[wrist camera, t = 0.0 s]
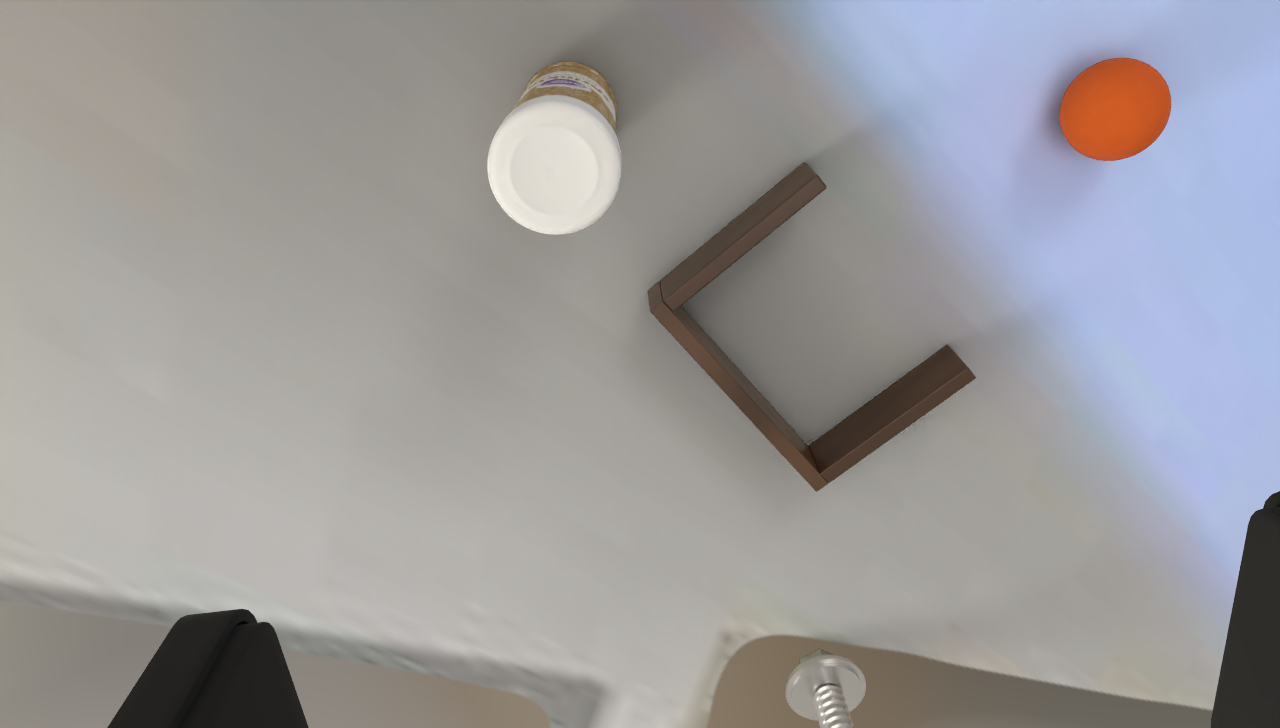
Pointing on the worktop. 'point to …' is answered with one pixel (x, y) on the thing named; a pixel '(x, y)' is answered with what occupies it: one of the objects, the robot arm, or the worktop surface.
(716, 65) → the worktop surface
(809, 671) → the screw
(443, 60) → the worktop surface
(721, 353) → the brown u-shaped piece
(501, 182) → the sprinkles bottle
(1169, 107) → the ball
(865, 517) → the worktop surface
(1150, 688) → the worktop surface
